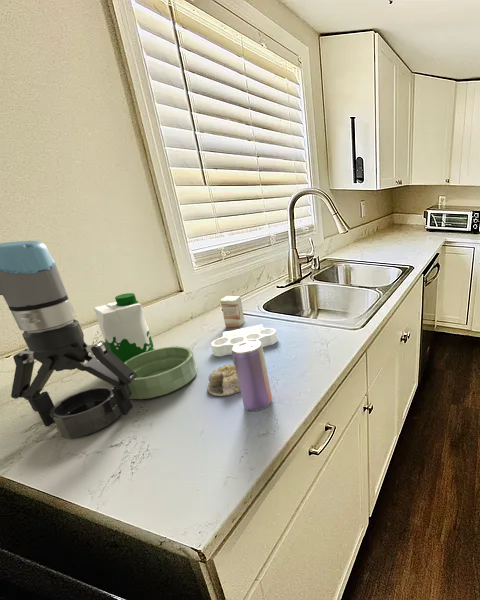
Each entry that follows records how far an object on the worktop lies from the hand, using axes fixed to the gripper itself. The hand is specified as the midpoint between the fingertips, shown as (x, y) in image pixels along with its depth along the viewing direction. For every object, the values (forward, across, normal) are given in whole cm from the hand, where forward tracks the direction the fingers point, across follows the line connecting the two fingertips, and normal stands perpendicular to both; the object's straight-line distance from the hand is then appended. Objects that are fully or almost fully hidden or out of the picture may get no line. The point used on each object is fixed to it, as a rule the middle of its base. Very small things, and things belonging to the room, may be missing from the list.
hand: (90, 416), depth 68 cm
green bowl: (+2, +8, +13) cm, 15 cm away
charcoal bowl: (+2, 0, 0) cm, 2 cm away
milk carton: (+2, -2, +23) cm, 23 cm away
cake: (+2, +25, +8) cm, 26 cm away
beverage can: (+2, +33, -1) cm, 33 cm away
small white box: (+2, +18, +46) cm, 49 cm away
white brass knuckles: (+2, +24, +30) cm, 38 cm away
